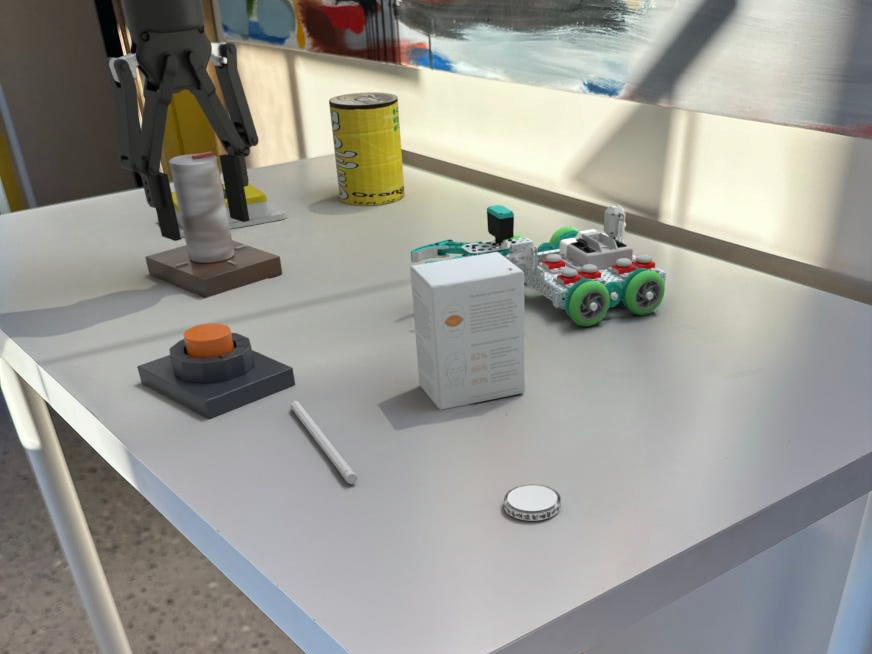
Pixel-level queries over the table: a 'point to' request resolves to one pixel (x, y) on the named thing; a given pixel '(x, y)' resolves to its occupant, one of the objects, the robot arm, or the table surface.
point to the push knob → (208, 340)
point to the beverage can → (367, 148)
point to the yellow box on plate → (256, 205)
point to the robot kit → (570, 265)
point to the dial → (202, 207)
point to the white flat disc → (532, 502)
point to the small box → (469, 329)
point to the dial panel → (214, 269)
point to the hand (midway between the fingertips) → (206, 228)
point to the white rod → (324, 443)
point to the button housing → (216, 378)
